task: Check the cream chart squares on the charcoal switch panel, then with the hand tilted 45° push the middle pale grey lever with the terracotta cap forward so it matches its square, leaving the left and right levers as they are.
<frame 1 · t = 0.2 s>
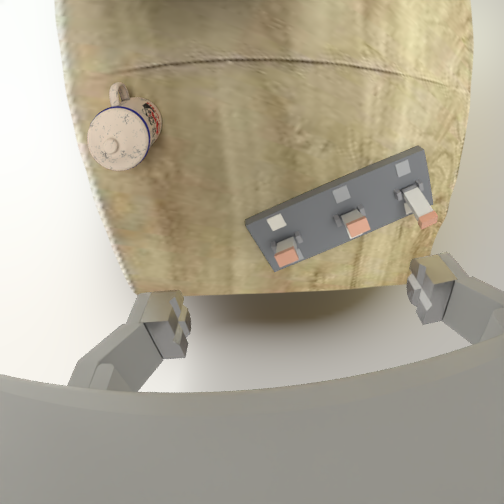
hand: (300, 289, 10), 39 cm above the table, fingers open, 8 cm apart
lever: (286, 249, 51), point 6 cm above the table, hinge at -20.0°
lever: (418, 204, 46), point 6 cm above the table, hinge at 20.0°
teacup with lid: (134, 113, 41), on the table
switch panel: (345, 207, 53), on the table
middle lever: (353, 221, 48), point 6 cm above the table, hinge at -20.0°
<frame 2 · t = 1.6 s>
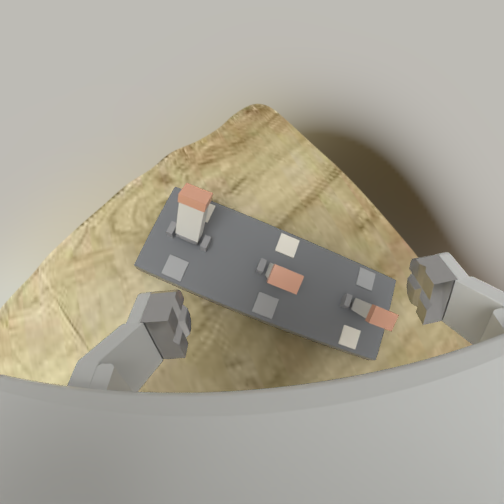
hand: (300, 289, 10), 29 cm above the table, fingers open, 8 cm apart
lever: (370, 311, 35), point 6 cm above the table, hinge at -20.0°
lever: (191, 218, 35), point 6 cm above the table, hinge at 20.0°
switch panel: (273, 278, 41), on the table
middle lever: (281, 275, 35), point 6 cm above the table, hinge at -20.0°
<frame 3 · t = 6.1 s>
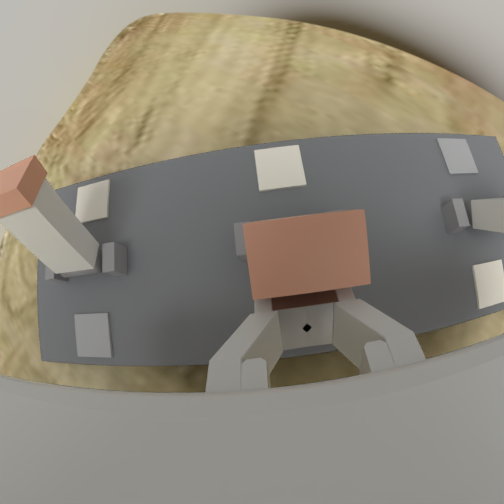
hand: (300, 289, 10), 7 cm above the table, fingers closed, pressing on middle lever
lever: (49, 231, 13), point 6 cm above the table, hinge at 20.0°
switch panel: (289, 248, 18), on the table
middle lever: (296, 240, 12), point 6 cm above the table, hinge at -19.2°, touching gripper
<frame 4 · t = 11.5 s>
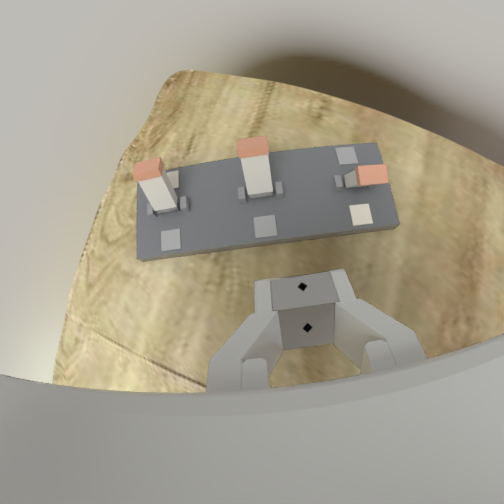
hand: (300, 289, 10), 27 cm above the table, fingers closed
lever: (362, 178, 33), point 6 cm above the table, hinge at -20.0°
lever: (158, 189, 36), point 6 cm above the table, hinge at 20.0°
switch panel: (262, 200, 40), on the table
middle lever: (257, 170, 35), point 6 cm above the table, hinge at 24.8°
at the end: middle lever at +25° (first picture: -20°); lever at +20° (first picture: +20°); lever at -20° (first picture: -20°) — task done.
